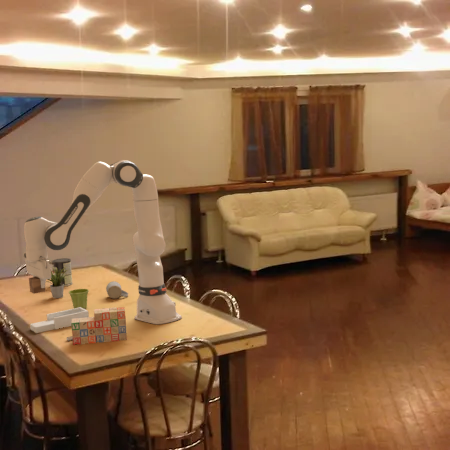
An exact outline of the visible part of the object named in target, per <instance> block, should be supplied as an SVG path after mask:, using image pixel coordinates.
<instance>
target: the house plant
mask: <svg viewBox="0 0 450 450" xmlns="http://www.w3.org/2000/svg"><path fill="white" fill-rule="evenodd" d="M53 268H54V267H53V266H52V269H53ZM65 268H66V267H65ZM65 268H63V269H62V270H61V272H60V270H59V274H58V269H57V267H56V271H55V270H54V271H55V275H56V278H55V275H53V271H51V279H46V283H50V285H49V288H50V291H51V296H52V299H60V298H63V297H64V288H65V286H64V284H61V282H62V280H63V278H64V277H65V276H66V275H65V276H64V277H63V278H62V277H60V276H61V273H62V271H63V270H64V269H65ZM68 270H70V269H68ZM66 271H67V270H65V272H66ZM65 272H63V274H64V273H65ZM63 274H62V276H63ZM61 279H62V280H61ZM65 279H66V278H65ZM66 280H67V279H66ZM60 281H61V282H60ZM63 281H64V280H63Z"/></svg>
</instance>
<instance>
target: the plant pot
mask: <svg viewBox="0 0 450 450" xmlns="http://www.w3.org/2000/svg"><path fill="white" fill-rule="evenodd" d="M89 291H90V290H89V288H76V289H72V290H69V291H68V294H69V295H70V296H69V297H70V298H71V303H72V307H73V309H74V308H79V307H81V308H83V309H87V308H88V295H89Z"/></svg>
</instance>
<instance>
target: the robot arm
mask: <svg viewBox="0 0 450 450" xmlns="http://www.w3.org/2000/svg"><path fill="white" fill-rule="evenodd" d="M155 180H156V179H155V178H154V177H153V176H152V175H150V174H146V173H145V174H144V173H142V172H141V170H140V169H139V167H138V165H137V164H136V163H134V162H132V161H130V160H127V159H126V160H125V159H121V160H118V161H116V162H114V163H112V164H108V163H107V162H104V161H97V162H95V163H94V164H92V165H91V167H89V168H88V170H86V172H85V173H84V174H83V176H82V177H81V178H80V180H79V182H78V183H77V185H76V187H75V189H74V191H73V196H72V201H71V203H70V205H69V206H68V208H67V210H66V211H65V213H64V214H63V216H62V217H61V219H60V220H59V221H58V222H56V221H51V220H48V219H46V218H44V217H43V216H35V217H30V218H29V219H26V221H25V222H24V227H23V232H24V241H25V251H24V252H23V258H24V260H25V266H26V267H25V268H26V271H27V274H29V275H31V276H32V277H38V278H40V281H41V284H40V287H41V288H45V289H46V283H47V282H46V281H47V279H50V280H51V272H52V271H51V265H50V262H49V261H48V260H47V259H49V253H48V249H50V250H53V251H61V250H63V249H65V248H67V246H68V245H69V243H70V240H71V234H72V231H73V230H74V228H75V227H76V226H77V224H78V222H80V220H81V219H82V217H83V215H84V214H85V213H86V212H87V210H89V209H90V208H91V207H92V205H94V204H95V203H96V201H98V199H100V197H102V195H103V194H104V192H105V191H106V189H107V188H108V187H109V186H110V185H111V184H114V183H115V184H118V185H119V186H123V187H128V188H130V189H131V192H132V202H133V214H134V221H135V224H136V229H137V231H136V232H135V233H134V234H133V235H132V236H133V237H132V244H133V248H134V256H135V259H136V264H137V272H138V273H137V274H138V286H137V287H138V288H137V290H138V295H139V296H138V299H136V315H135V316H134V320H137V321H142V322H144V323H149V324H153V325H162V324H167V323H172V322H176V321H179V320H181V319H182V315H181V314H179V313H178V312H177V310H176V302H175V301H173V300H172V298H171V297H170V296H169V295H168V294H167V291H168V290H167V287H166V284H165V283H164V267H163V266H164V265H163V264H162V260H161V255H162V254H163V253H164V252H165V250H166V247H167V246H166V245H167V243H166V241H165V237H164V232H163V226H162V221H161V215H160V207H159V206H160V205H159V193H158V187H157V182H156V181H155Z"/></svg>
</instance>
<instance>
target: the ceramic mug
mask: <svg viewBox="0 0 450 450" xmlns="http://www.w3.org/2000/svg"><path fill="white" fill-rule="evenodd" d="M105 290H106V291H105V292H106V293H107V296H108V297H109V298H110V299H113V300H117V299H119V298H120V297H124V298H126V297H128V296H129V292H127V291H125V290H123V289H122V286H121V284H120V283H119V282H117V281H114V280H113V281H110V282H108V283H107V284H106V288H105Z"/></svg>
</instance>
